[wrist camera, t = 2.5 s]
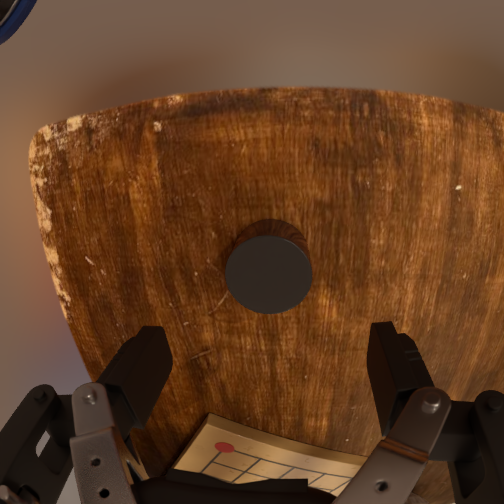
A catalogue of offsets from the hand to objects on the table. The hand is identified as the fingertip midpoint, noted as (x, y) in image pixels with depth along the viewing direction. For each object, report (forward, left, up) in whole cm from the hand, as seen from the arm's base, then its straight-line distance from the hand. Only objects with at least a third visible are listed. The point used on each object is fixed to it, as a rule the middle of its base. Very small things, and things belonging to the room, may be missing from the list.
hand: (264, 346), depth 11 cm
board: (+13, -28, -9) cm, 32 cm away
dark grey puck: (0, 0, -9) cm, 9 cm away
